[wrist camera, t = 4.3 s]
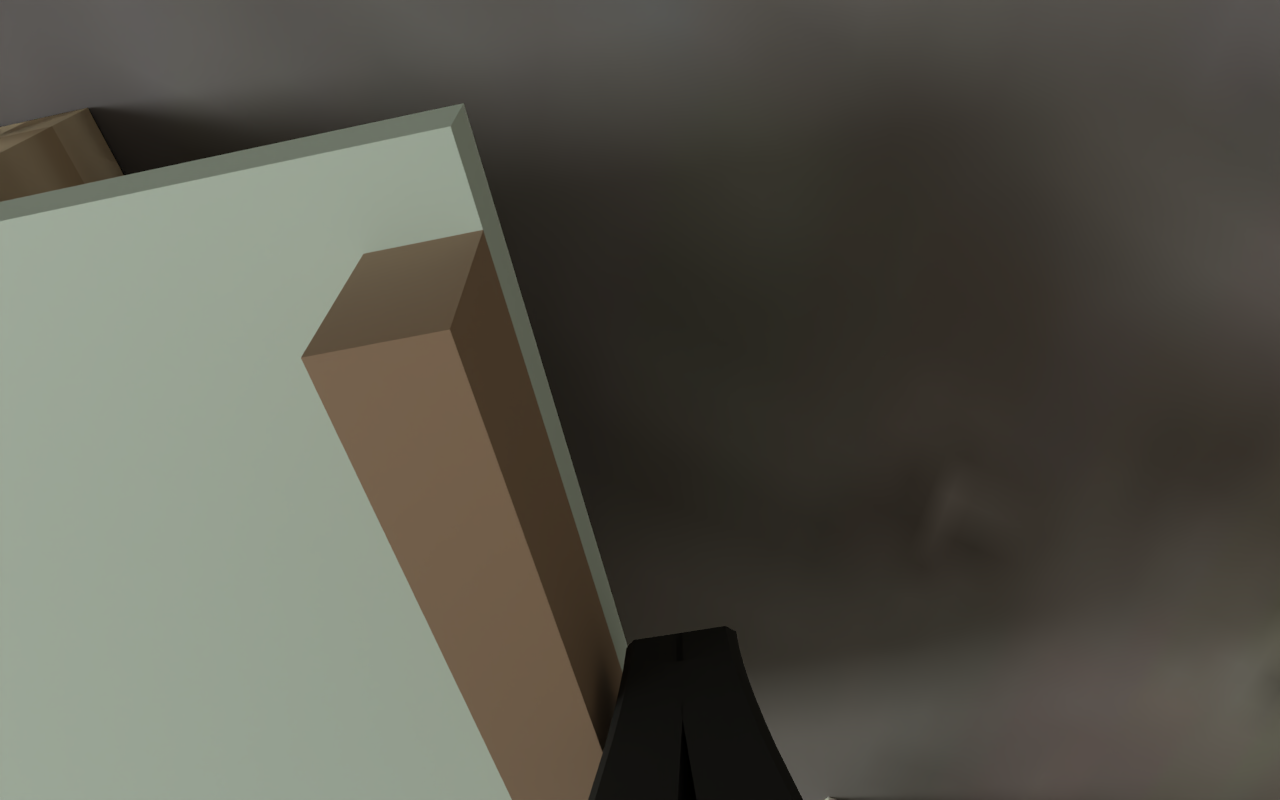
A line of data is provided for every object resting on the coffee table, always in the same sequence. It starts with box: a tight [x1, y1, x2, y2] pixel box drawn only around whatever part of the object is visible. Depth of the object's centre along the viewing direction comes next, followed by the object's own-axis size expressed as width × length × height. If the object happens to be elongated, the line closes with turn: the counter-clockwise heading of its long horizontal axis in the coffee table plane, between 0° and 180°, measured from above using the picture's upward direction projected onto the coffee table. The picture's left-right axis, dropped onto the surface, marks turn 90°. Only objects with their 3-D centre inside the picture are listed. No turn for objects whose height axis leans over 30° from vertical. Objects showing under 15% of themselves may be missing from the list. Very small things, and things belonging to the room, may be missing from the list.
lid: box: [0, 103, 628, 800], centre depth 12 cm, size 12×14×3 cm
